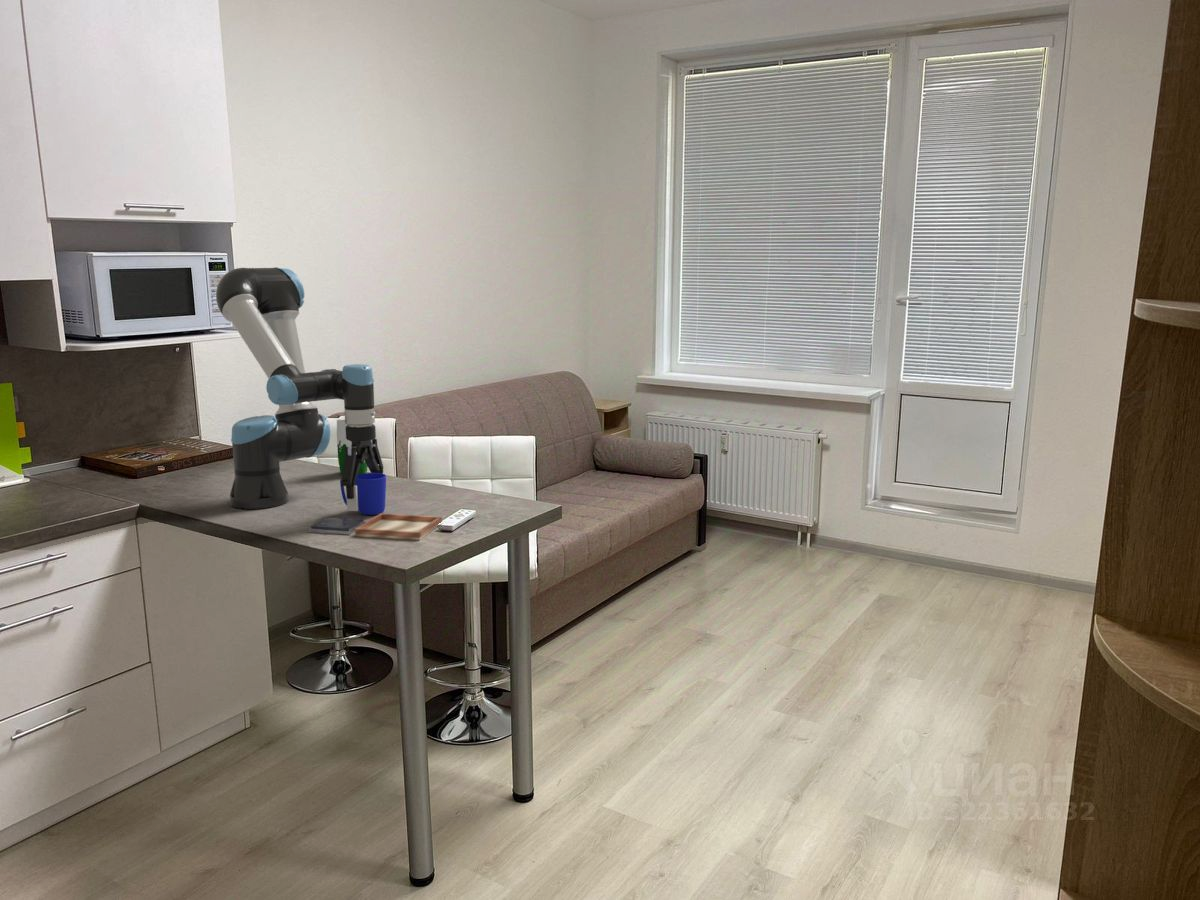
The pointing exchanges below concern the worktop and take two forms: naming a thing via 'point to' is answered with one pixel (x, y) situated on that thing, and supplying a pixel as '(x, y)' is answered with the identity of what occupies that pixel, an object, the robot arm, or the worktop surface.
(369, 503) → the mug
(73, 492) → the worktop surface
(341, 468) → the milk carton
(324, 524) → the ink pad
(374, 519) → the sand box
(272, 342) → the robot arm
